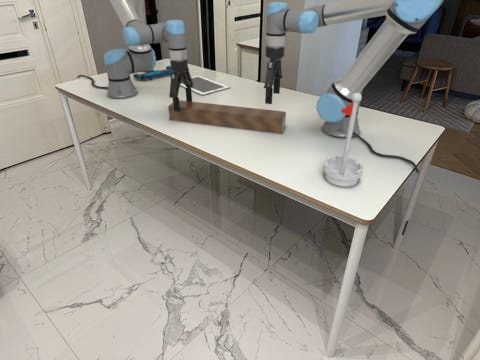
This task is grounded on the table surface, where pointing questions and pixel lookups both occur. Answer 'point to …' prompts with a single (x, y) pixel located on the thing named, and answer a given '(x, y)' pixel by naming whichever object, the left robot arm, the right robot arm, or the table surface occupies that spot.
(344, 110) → the flag stand
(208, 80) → the tablet
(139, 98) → the table surface
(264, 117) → the slab
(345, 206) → the table surface
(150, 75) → the submachine gun
